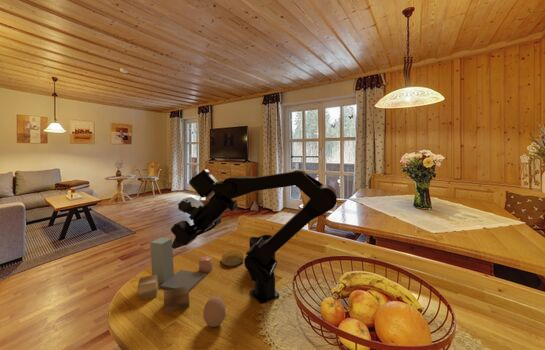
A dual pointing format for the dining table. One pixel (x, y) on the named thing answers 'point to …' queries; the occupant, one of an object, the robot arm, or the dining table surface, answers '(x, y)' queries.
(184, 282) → the coaster
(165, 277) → the tall block
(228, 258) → the bread roll
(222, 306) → the mauve oval ball
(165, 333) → the dining table surface
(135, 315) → the dining table surface
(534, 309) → the dining table surface
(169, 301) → the walnut brick
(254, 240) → the pen holder
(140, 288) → the beech cube
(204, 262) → the pink rounded pebble
